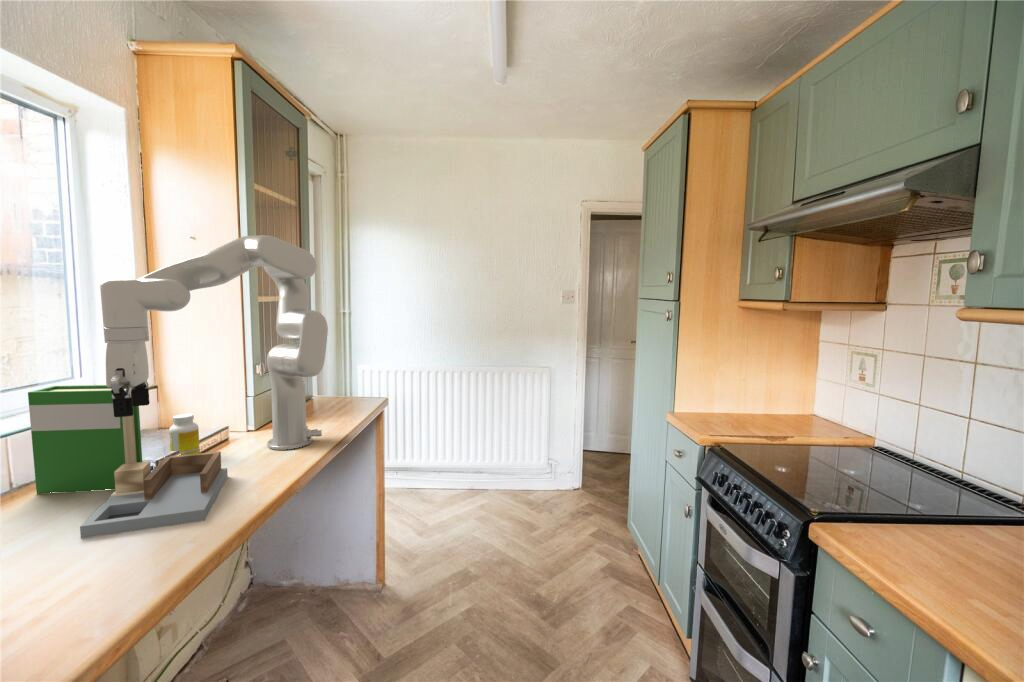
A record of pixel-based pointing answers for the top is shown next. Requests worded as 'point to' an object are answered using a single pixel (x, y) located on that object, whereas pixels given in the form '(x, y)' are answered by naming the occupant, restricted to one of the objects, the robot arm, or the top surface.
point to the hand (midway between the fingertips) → (132, 410)
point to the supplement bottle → (184, 435)
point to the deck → (155, 506)
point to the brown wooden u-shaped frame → (183, 471)
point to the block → (131, 477)
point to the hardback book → (80, 438)
